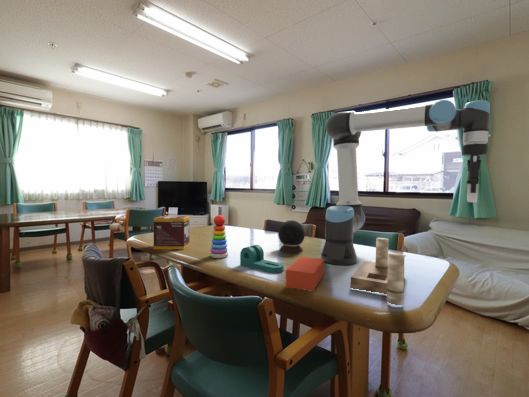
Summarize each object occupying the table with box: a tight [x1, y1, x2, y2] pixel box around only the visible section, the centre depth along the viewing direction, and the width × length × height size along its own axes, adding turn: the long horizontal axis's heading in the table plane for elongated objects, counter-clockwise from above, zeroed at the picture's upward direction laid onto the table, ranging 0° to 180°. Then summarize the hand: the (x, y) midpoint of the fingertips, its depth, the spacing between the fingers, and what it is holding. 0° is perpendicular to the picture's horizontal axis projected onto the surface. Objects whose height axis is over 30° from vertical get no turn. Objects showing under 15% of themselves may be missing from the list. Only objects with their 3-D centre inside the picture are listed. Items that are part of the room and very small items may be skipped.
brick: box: [285, 256, 325, 292], centre depth 95 cm, size 18×9×6 cm, turn 157°
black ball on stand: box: [277, 220, 306, 254], centre depth 138 cm, size 13×13×15 cm
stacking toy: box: [210, 214, 229, 259], centre depth 125 cm, size 8×8×19 cm
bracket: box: [239, 244, 285, 274], centre depth 109 cm, size 18×7×8 cm, turn 53°
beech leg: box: [386, 252, 405, 305], centre depth 76 cm, size 4×4×14 cm
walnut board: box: [349, 237, 390, 294], centre depth 93 cm, size 14×22×14 cm, turn 151°
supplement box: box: [153, 215, 191, 250], centre depth 142 cm, size 10×15×16 cm
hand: (471, 201), depth 104 cm, fingers open, 13 cm apart
